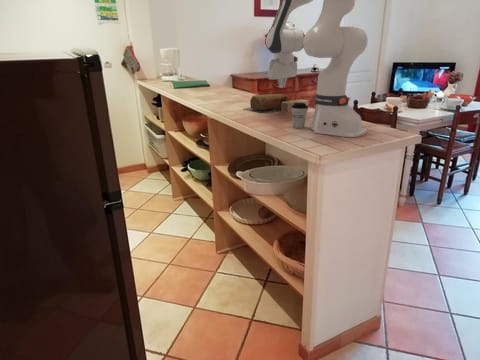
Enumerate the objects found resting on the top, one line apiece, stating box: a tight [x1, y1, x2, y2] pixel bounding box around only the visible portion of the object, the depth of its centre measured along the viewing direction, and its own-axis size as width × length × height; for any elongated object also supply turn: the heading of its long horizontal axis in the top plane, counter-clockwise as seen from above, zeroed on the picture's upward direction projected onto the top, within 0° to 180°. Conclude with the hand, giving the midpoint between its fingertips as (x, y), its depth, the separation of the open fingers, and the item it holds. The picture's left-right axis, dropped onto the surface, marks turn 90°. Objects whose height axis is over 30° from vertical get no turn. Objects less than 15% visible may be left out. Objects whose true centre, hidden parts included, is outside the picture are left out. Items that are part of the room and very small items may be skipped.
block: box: [249, 93, 289, 110], centre depth 182 cm, size 11×8×20 cm
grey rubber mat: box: [242, 106, 281, 114], centre depth 187 cm, size 16×20×1 cm
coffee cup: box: [291, 103, 309, 129], centre depth 145 cm, size 7×7×10 cm
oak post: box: [280, 98, 309, 114], centre depth 182 cm, size 5×5×15 cm
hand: (282, 87), depth 174 cm, fingers closed
